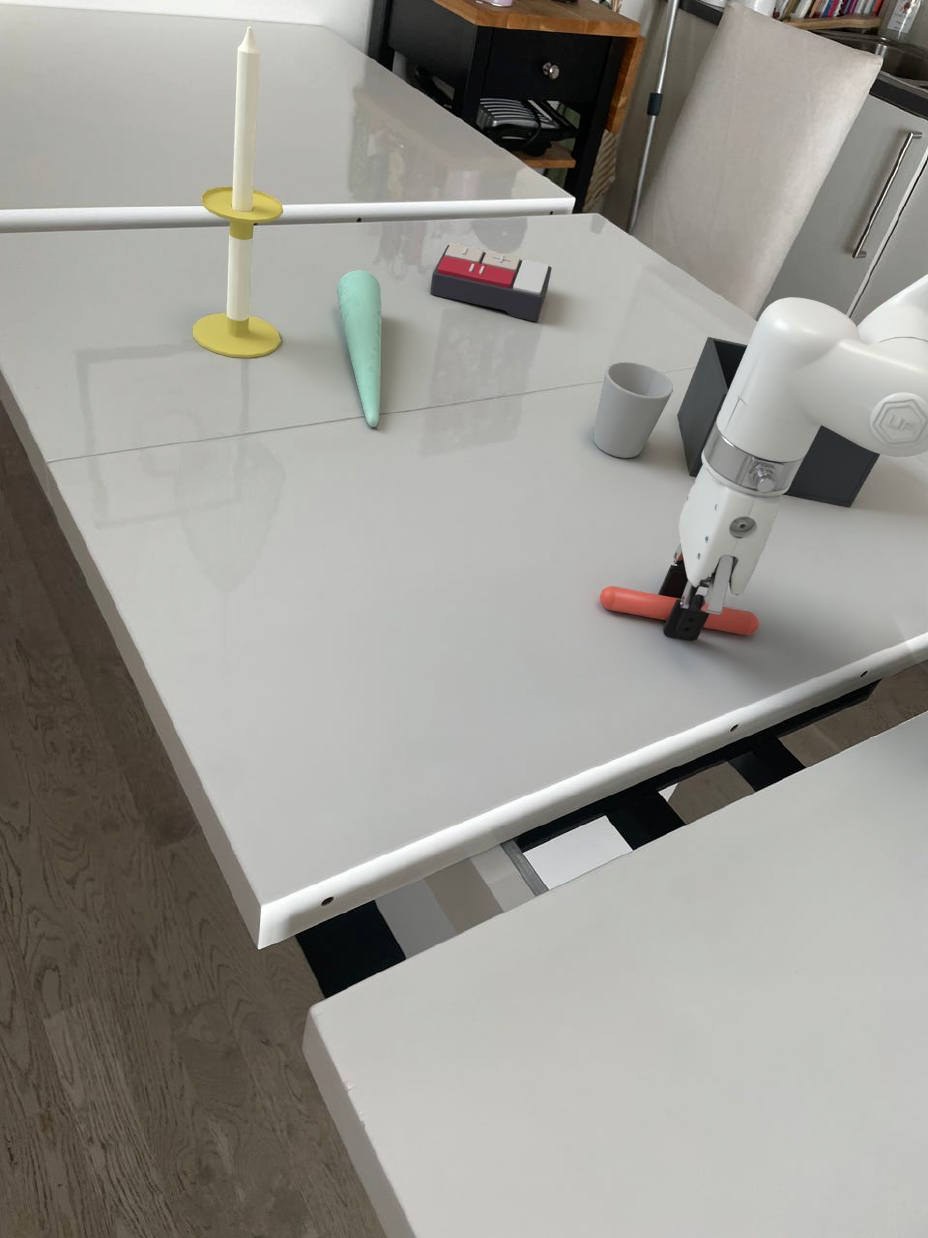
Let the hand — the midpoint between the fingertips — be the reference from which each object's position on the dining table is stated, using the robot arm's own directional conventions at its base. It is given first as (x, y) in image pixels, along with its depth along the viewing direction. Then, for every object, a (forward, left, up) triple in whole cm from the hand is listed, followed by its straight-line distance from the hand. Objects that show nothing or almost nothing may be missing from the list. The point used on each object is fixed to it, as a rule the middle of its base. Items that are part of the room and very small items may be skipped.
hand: (676, 616), depth 91 cm
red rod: (0, 0, 0) cm, 0 cm away
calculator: (+20, -62, -1) cm, 65 cm away
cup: (+4, -30, -1) cm, 30 cm away
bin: (-14, -32, 0) cm, 35 cm away
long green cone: (+34, -35, -1) cm, 49 cm away
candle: (+49, -36, -1) cm, 61 cm away
